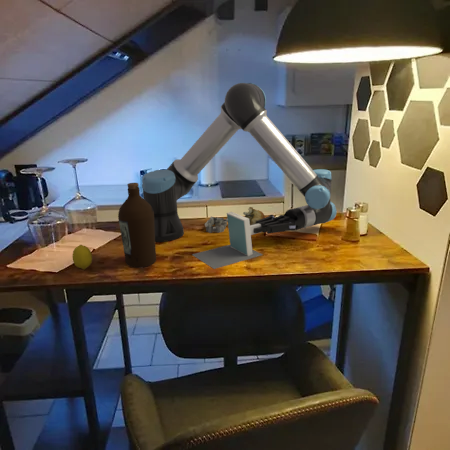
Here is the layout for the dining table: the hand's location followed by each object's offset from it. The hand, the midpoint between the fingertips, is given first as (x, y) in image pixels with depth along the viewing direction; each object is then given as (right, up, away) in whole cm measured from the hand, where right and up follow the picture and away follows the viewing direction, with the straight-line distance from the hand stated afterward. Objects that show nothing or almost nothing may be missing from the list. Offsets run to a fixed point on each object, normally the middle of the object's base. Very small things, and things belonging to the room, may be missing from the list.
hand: (243, 231), depth 130 cm
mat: (-5, -8, -1) cm, 9 cm away
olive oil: (-32, -10, -2) cm, 34 cm away
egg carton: (-9, 0, +27) cm, 28 cm away
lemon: (-49, -12, -6) cm, 51 cm away
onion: (+5, +1, +27) cm, 28 cm away
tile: (-1, -6, +2) cm, 6 cm away
